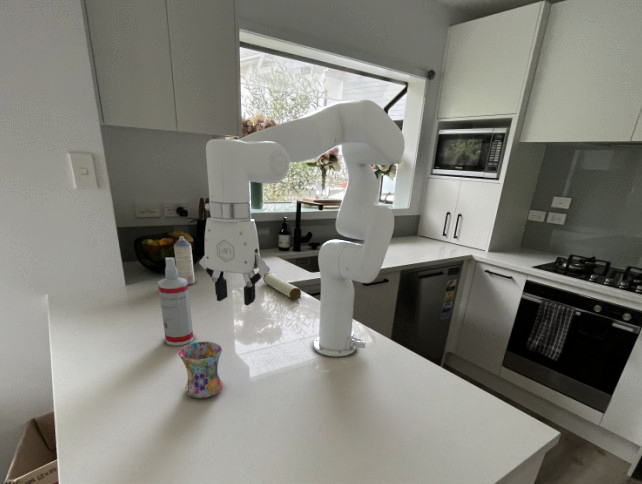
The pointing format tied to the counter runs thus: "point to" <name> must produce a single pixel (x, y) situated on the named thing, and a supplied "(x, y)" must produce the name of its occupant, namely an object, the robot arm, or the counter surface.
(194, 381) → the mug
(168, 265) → the spray bottle
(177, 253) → the aerosol can
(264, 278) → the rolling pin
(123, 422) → the counter surface
